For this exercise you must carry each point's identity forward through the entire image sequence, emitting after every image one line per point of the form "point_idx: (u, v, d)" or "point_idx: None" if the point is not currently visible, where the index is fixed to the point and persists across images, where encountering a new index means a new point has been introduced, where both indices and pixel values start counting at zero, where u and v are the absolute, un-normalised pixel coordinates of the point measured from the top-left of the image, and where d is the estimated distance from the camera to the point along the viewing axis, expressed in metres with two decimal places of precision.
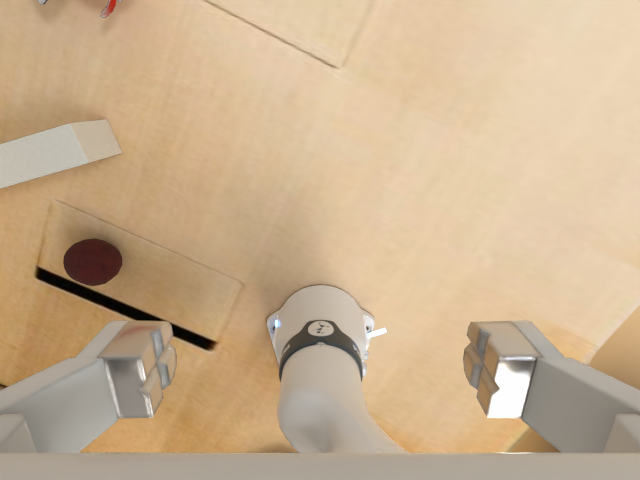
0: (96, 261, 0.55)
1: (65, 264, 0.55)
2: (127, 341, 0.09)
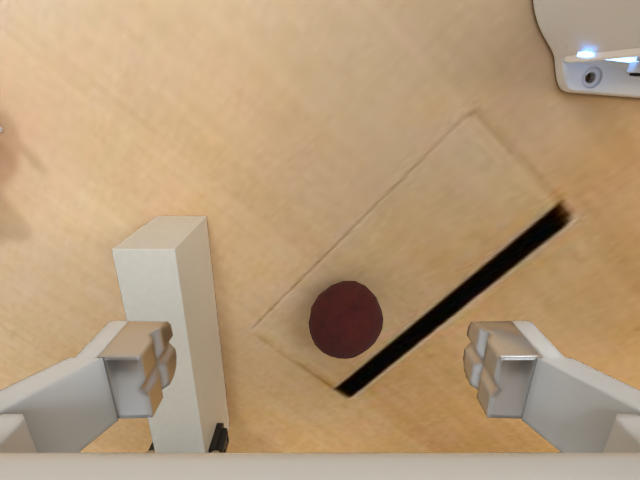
0: (340, 312, 0.34)
1: (331, 354, 0.36)
2: (127, 341, 0.09)
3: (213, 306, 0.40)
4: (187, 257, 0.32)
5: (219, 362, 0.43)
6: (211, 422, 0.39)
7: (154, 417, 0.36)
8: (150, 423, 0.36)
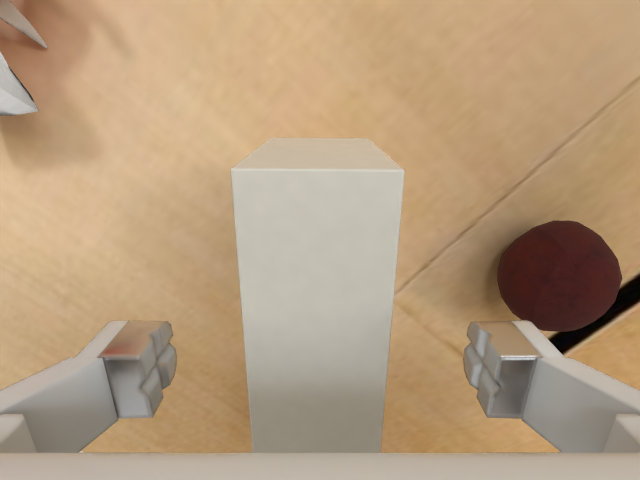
0: (577, 258, 0.23)
1: (549, 324, 0.24)
2: (127, 341, 0.09)
3: None
4: None
5: None
6: None
7: None
8: None
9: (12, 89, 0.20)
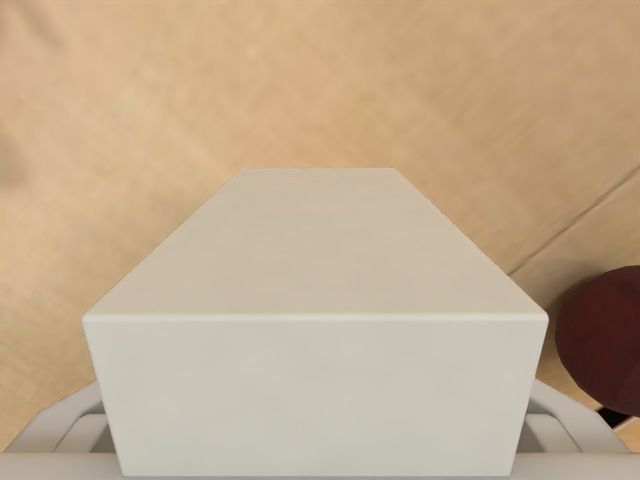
0: None
1: (639, 412, 0.18)
2: None
3: None
4: None
5: None
6: None
7: None
8: None
9: None
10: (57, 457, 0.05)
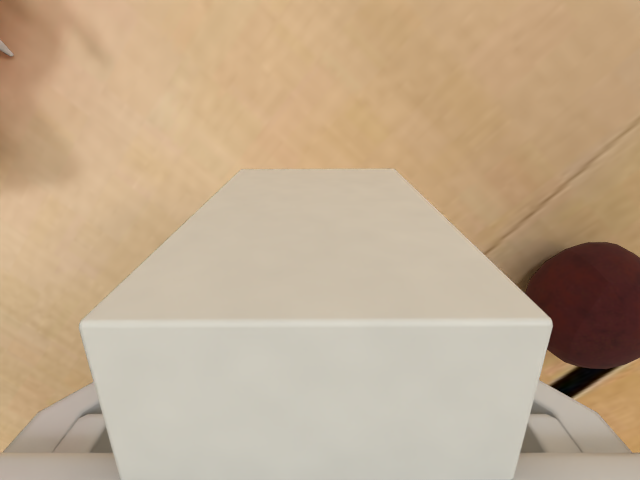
0: (622, 289, 0.20)
1: (588, 362, 0.21)
2: None
3: None
4: None
5: None
6: None
7: None
8: None
9: None
10: (57, 457, 0.05)
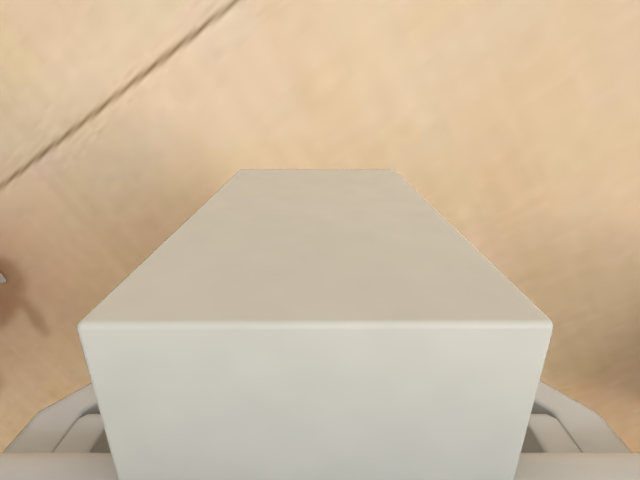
0: None
1: None
2: None
3: None
4: None
5: None
6: None
7: None
8: None
9: None
10: (57, 457, 0.05)
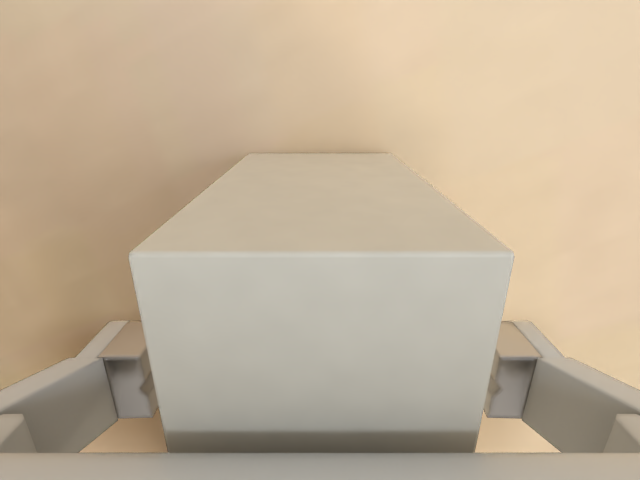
0: None
1: None
2: (127, 341, 0.09)
3: None
4: None
5: None
6: None
7: None
8: None
9: None
10: (57, 457, 0.05)
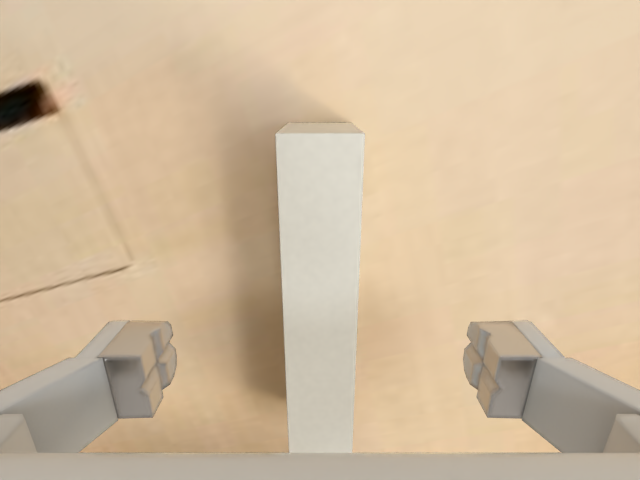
0: None
1: None
2: (127, 341, 0.09)
3: None
4: None
5: None
6: None
7: (295, 382, 0.27)
8: (288, 390, 0.27)
9: None
10: (57, 457, 0.05)
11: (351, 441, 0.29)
